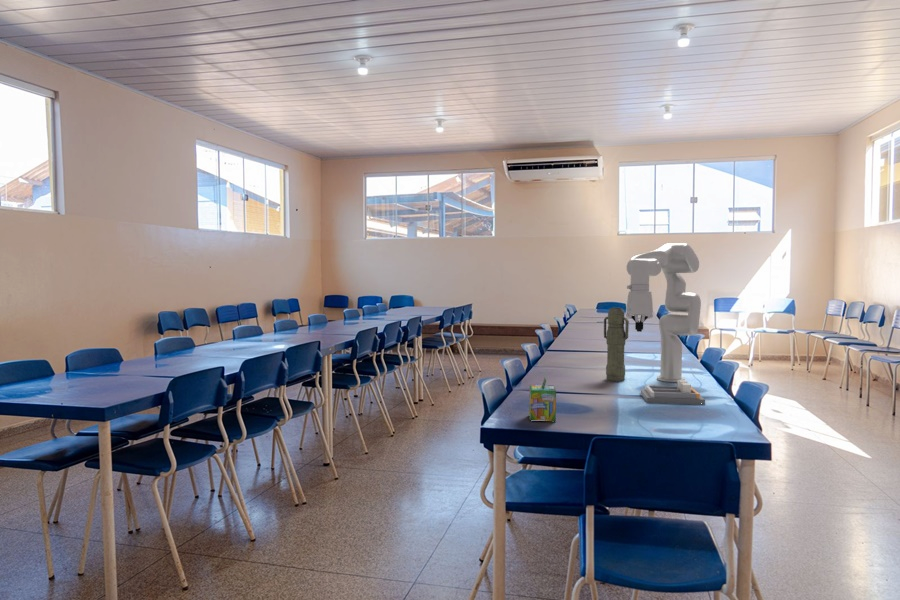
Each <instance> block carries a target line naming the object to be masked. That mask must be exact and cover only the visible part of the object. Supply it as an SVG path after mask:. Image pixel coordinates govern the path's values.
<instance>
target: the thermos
mask: <svg viewBox="0 0 900 600" xmlns="http://www.w3.org/2000/svg"><path fill="white" fill-rule="evenodd" d="M607 325H608V326H607ZM629 325H630V321H629V319H628V317H626V316H625V311H624V309H623V308H622V307H617V306H616V307H614V306H613V307H610V308H609V309H608V313H607V316H605V317H604V319H603V337H604V339H606V345H607V353H606V354H607V361H606V362H607V363H606V365H605V375H606V376H605V377H606V378H605V380H606V379H607V380H606V381H609V382H624V380H625V381H626V365H625V345H626V340H628V339H629V329H630V328H629Z"/></svg>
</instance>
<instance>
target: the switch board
mask: <svg viewBox="0 0 900 600" xmlns="http://www.w3.org/2000/svg"><path fill="white" fill-rule="evenodd" d="M644 387H645V389H644V388H642V389H640V396H641V397H642V398H643V399H644V401H645V402H646V404H653V403H654V404H679V405H681V404H682V405H702V404H705V405H706V399H705V397H703V396H702V395H701V394H700V393H699V392H698V391H697V390H696V389H695V388H693V386H691V393H681V389H677V385H652V384H651V385H649V384H648V385H647V384H646V385H644ZM701 403H702V404H701Z"/></svg>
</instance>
